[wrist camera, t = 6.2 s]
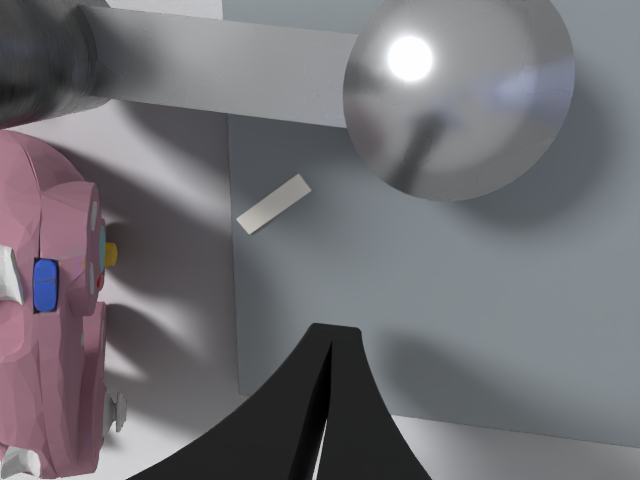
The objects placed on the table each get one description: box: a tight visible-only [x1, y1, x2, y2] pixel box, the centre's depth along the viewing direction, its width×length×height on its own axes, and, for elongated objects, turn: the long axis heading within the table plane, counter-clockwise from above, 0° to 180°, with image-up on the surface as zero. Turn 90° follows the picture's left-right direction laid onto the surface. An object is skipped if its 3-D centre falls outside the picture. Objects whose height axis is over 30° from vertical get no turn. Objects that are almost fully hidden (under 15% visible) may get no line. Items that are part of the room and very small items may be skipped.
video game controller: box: [0, 130, 127, 479], centre depth 13 cm, size 10×5×7 cm, turn 168°
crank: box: [0, 0, 575, 202], centre depth 9 cm, size 13×4×5 cm, turn 84°
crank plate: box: [222, 0, 640, 448], centre depth 11 cm, size 15×22×1 cm
